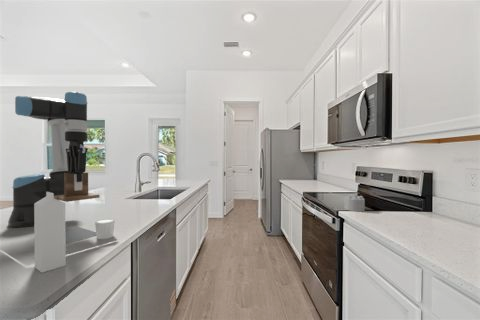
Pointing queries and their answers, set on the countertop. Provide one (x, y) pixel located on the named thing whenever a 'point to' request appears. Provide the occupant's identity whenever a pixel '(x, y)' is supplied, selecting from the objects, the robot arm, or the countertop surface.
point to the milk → (49, 233)
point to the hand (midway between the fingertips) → (76, 189)
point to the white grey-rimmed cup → (104, 228)
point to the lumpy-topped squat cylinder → (355, 203)
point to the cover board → (74, 198)
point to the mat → (78, 234)
